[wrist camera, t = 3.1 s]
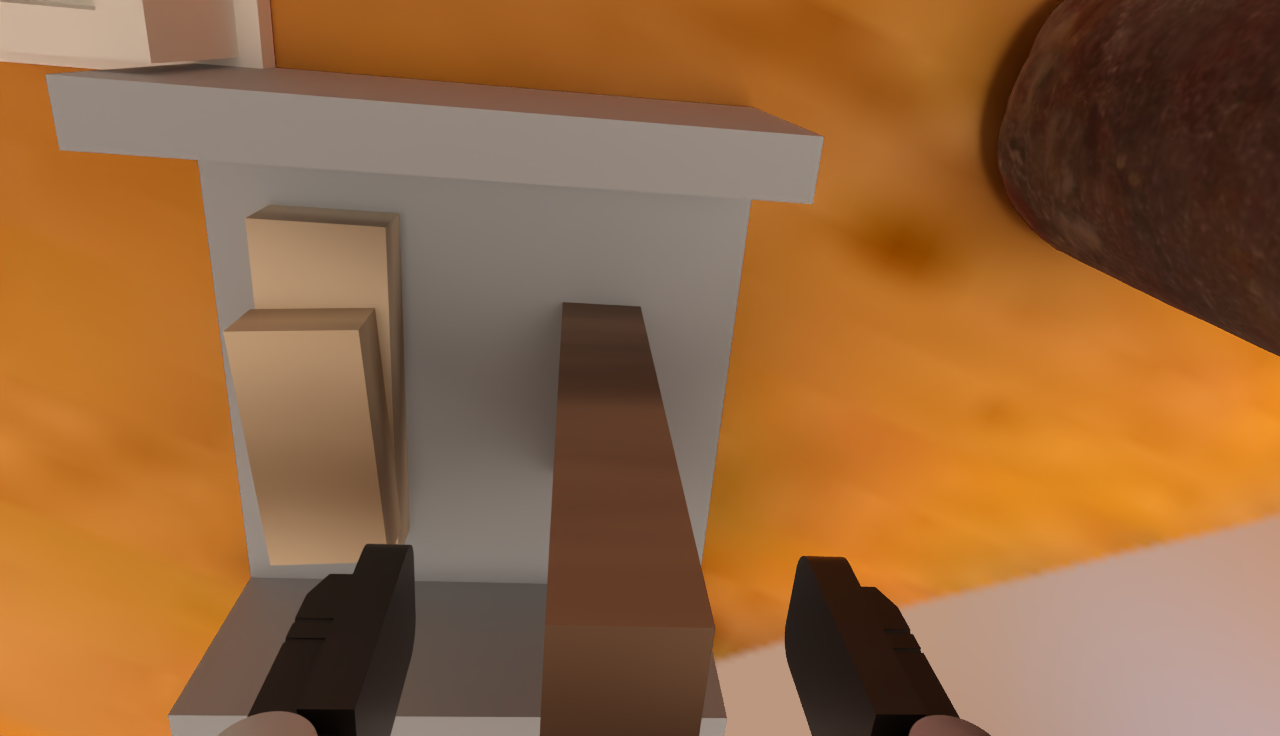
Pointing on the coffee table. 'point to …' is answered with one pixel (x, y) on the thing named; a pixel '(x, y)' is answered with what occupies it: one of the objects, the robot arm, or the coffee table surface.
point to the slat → (619, 546)
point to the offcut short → (316, 431)
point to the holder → (137, 33)
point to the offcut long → (339, 289)
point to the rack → (466, 320)
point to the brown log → (1157, 151)
